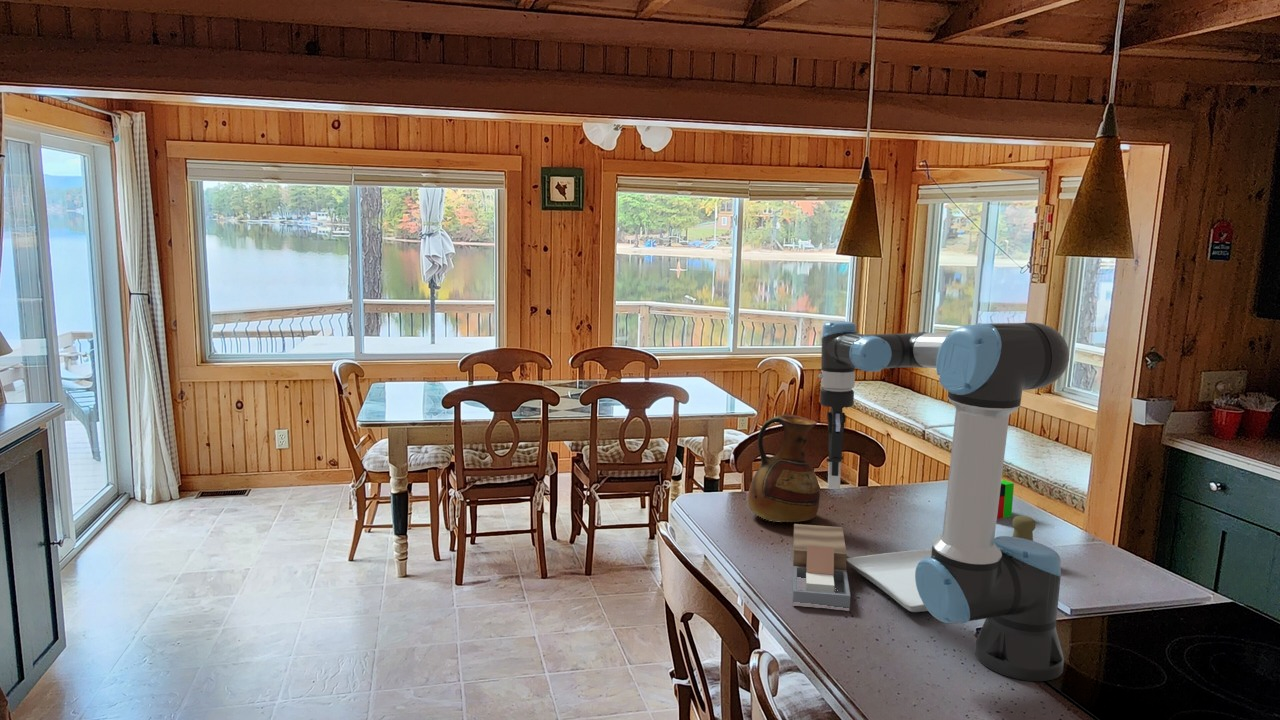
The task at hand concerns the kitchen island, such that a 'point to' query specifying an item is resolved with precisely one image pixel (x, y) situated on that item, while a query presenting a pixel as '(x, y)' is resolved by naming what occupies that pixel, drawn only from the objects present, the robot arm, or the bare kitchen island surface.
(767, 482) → the ceramic pitcher
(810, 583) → the cream tile
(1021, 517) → the cork
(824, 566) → the terracotta tile
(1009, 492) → the puzzle toy
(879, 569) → the square plate
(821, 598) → the bin
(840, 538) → the brushed bronze panel
